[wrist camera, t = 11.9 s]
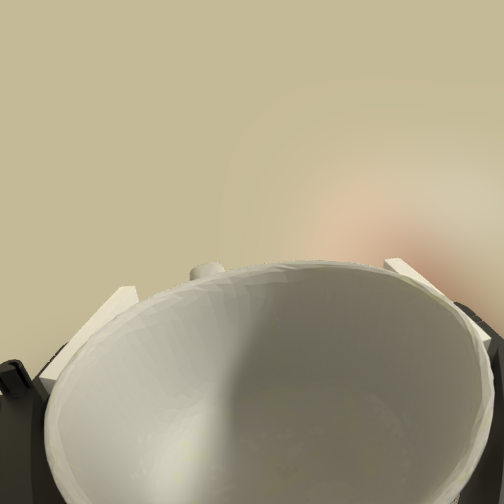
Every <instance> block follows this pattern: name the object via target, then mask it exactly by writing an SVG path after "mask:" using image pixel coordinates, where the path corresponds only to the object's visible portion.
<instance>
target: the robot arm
mask: <svg viewBox="0 0 504 504" xmlns="http://www.w3.org/2000/svg"><path fill="white" fill-rule="evenodd" d="M384 269H386V270H389V271H392V272H395V273H397V274H400V275H404V276H408V277H410V278H412V279H414V280H417V281H419V282H421V283H423V284H425V285H427V286H429V287H431V288H433V289H435V290H436V291H437V292H438V293H440V294H441V295H443V294H442V293H441V292H440V291H439V290H438V289H436V288H435V287H434V286H433V285H432V284H430V283H429V282H428V281H427V280H426V279H425V278H423V277H422V276H421V275H420V274H419V273H417V272H416V271H415V270H413V269H412V268H411V267H410V266H409V265H407V264H406V263H405V262H404V261H402V260H401V259H400V258H395V259H387V260H384ZM444 296H445V295H444ZM451 302H452V301H451ZM137 303H139V299H138V296H137V292H136V289H135V286H127V287H120V288H119V289H118V290H117V291H116V292H115V293H114V294H113V295H112V296H111V297H110V298H109V299H108V300H107V301H106V303H104V305H103V306H102V307H101V308H100V309H99V310H98V311H97V312H96V313H95V314H94V315H93V316H92V317H91V318H90V319H89V320H88V321H87V323H86V324H85V325H84V326H83V327H82V328H81V329H80V331H78V332H77V333H76V335H75V336H74V337H73V338H72V339H71V340H70V341H69V342H68V343H66V344H65V345H63V346H62V347H61V348H60V349H59V351H58V352H57V353H56V354H55V356H53V357H52V358H51V359H50V362H48V363H47V364H46V365H45V366H44V368H43V369H42V370H41V371H40V372H39V374H38V375H37V376H36V377H35V378H34V379H33V381H31V379H30V377H29V375H28V373H27V371H26V369H25V368H24V366H23V364H22V362H21V361H20V360H16V359H14V360H8V361H6V362H3V363H2V364H0V391H1V392H2V394H3V395H0V504H67V503H66V502H65V500H64V498H63V497H62V495H61V493H60V492H59V490H58V488H57V486H56V483H55V481H54V478H53V475H52V472H51V469H50V466H49V463H48V461H47V457H46V451H45V445H44V420H45V412H46V409H47V405H48V401H49V398H50V395H51V392H52V389H53V386H54V384H55V382H56V380H57V379H58V377H59V375H60V373H61V371H62V370H63V369H64V367H65V366H66V365H67V363H68V362H69V360H70V359H71V357H72V356H73V355H74V354H75V352H76V351H77V350H78V349H79V348H80V347H81V346H82V345H83V344H84V343H85V342H86V341H88V339H89V338H90V336H91V335H93V334H94V333H95V332H96V331H98V330H99V329H100V328H101V327H103V326H104V325H105V324H107V323H108V322H110V321H111V320H113V319H114V318H115V317H116V316H117V315H119V314H120V313H122V312H124V311H126V310H127V309H129V308H130V307H131V306H133V305H135V304H137ZM452 303H453V302H452ZM454 304H455V305H456V306H457V307H458V309H459V310H460V311H461V312H462V313H463V314H465V315H466V317H467V318H468V319H469V321H470V322H471V324H472V325H473V327H474V328H475V329H476V330H477V332H478V334H479V335H480V337H481V339H482V342H483V344H484V347H485V349H486V351H487V354H488V356H489V360H490V366H491V370H492V373H493V376H494V379H493V385H494V391H495V394H494V405H493V417H492V422H491V427H490V431H489V436H488V440H487V444H486V446H485V449H484V451H483V453H482V455H481V458H480V460H479V462H478V464H477V466H476V468H475V470H474V472H473V474H472V476H471V477H470V479H469V481H468V483H467V484H466V485H465V487H464V488H463V489H462V491H461V492H460V497H459V501H458V504H504V339H503V338H501V337H500V336H499V335H498V334H497V333H496V332H495V331H494V330H493V329H492V328H491V327H490V326H488V325H487V324H486V323H485V322H484V321H483V322H482V319H481V318H480V317H478V316H476V314H475V313H474V312H473V311H472V310H470V309H469V308H468V307H466V306H464V305H462V304H460V303H458V302H454Z"/></svg>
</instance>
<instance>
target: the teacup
mask: <svg viewBox="0 0 504 504" xmlns="http://www.w3.org/2000/svg"><path fill="white" fill-rule="evenodd" d="M493 379H494V376H493V373H492V370H491V366H490V360H489V356H488V354H487V351H486V349H485V347H484V344H483V342H482V339H481V337H480V335H479V334H478V332H477V330H476V329H475V328H474V327H473V325H472V324H471V322H470V321H469V319H468V318H467V317H466V315H465V314H463V313H462V312H461V311H460V310H459V309H458V307H457V306H456V305H455V304H454V303H452V302H451V301H450V300H449V299H448V298H447V297H446V296H444V295H441V294H440V293H438V292H437V291H436V290H435V289H433V288H431V287H429V286H427V285H425V284H423V283H421V282H419V281H417V280H414V279H412V278H410V277H408V276H404V275H400V274H397V273H395V272H392V271H389V270H386V269H382V268H378V267H373V266H369V265H364V264H356V263H350V262H336V261H322V260H318V261H285V262H278V263H268V264H260V265H255V266H250V267H245V268H239V269H232V270H230V271H225V270H224V268H223V267H222V266H221V265H220V264H219V263H216V262H210V263H205V264H202V265H198V266H196V267H195V268H193V269H192V270H191V272H190V281H189V282H185V283H183V284H180V285H178V286H175V287H173V288H170V289H168V290H165V291H162V292H159V293H158V294H156V295H154V296H152V297H150V298H147V299H145V300H143V301H141V302H139V303H137V304H135V305H133V306H131V307H130V308H129V309H127V310H126V311H124V312H122V313H120V314H119V315H117V316H116V317H115V318H114V319H113V320H111V321H110V322H108V323H107V324H105V325H104V326H103V327H101V328H100V329H99V330H98V331H96V332H95V333H94V334H93V335H91V336H90V338H89V339H88V341H86V342H85V343H84V344H83V345H82V346H81V347H80V348H79V349H78V350H77V351H76V352H75V354H74V355H73V356H72V357H71V359H70V360H69V362H68V363H67V365H66V366H65V367H64V369H63V370H62V371H61V373H60V375H59V377H58V379H57V380H56V382H55V384H54V386H53V389H52V392H51V395H50V398H49V401H48V405H47V409H46V412H45V420H44V445H45V451H46V457H47V461H48V463H49V466H50V469H51V472H52V475H53V478H54V481H55V483H56V486H57V488H58V490H59V492H60V493H61V495H62V497H63V498H64V500H65V502H66V503H67V504H451V503H452V502H453V501H454V500H455V498H456V497H457V496H458V495H459V493H460V492H461V491H462V489H463V488H464V487H465V485H466V484H467V483H468V481H469V479H470V477H471V476H472V474H473V472H474V470H475V468H476V466H477V464H478V462H479V460H480V458H481V455H482V453H483V451H484V449H485V446H486V444H487V440H488V436H489V431H490V427H491V422H492V417H493V405H494V394H495V391H494V385H493Z"/></svg>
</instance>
